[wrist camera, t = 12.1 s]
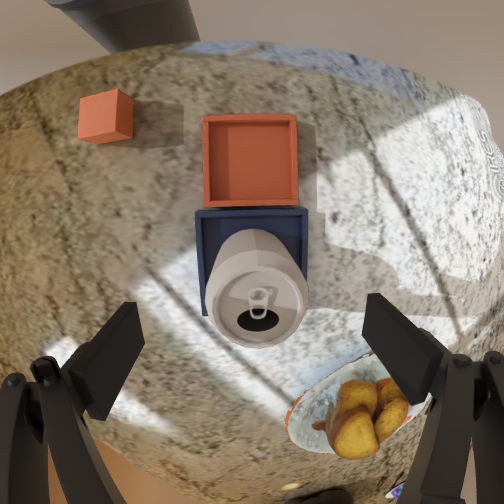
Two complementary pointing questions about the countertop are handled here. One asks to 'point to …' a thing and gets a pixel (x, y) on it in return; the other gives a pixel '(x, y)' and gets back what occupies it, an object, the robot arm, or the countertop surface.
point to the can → (256, 290)
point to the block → (106, 117)
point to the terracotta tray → (250, 160)
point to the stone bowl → (326, 498)
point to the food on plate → (350, 411)
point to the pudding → (395, 491)
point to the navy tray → (234, 220)
